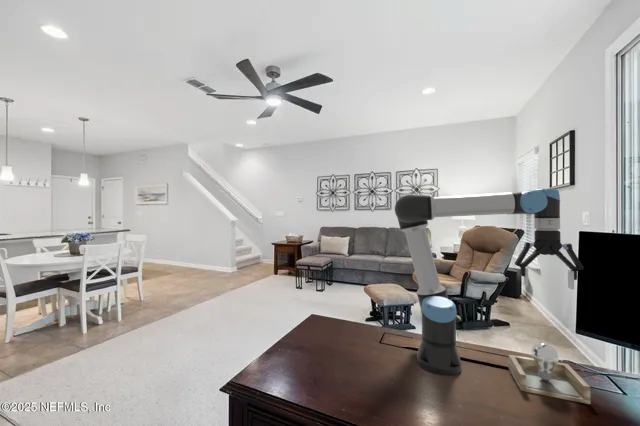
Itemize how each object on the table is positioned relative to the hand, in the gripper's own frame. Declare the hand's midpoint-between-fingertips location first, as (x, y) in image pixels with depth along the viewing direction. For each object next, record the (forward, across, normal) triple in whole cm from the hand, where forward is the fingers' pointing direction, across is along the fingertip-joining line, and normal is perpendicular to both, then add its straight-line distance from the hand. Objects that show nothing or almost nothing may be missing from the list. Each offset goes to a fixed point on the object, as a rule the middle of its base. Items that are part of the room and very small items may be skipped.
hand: (548, 286), depth 103 cm
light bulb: (+28, -6, -16) cm, 33 cm away
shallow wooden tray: (+29, -6, -16) cm, 33 cm away
